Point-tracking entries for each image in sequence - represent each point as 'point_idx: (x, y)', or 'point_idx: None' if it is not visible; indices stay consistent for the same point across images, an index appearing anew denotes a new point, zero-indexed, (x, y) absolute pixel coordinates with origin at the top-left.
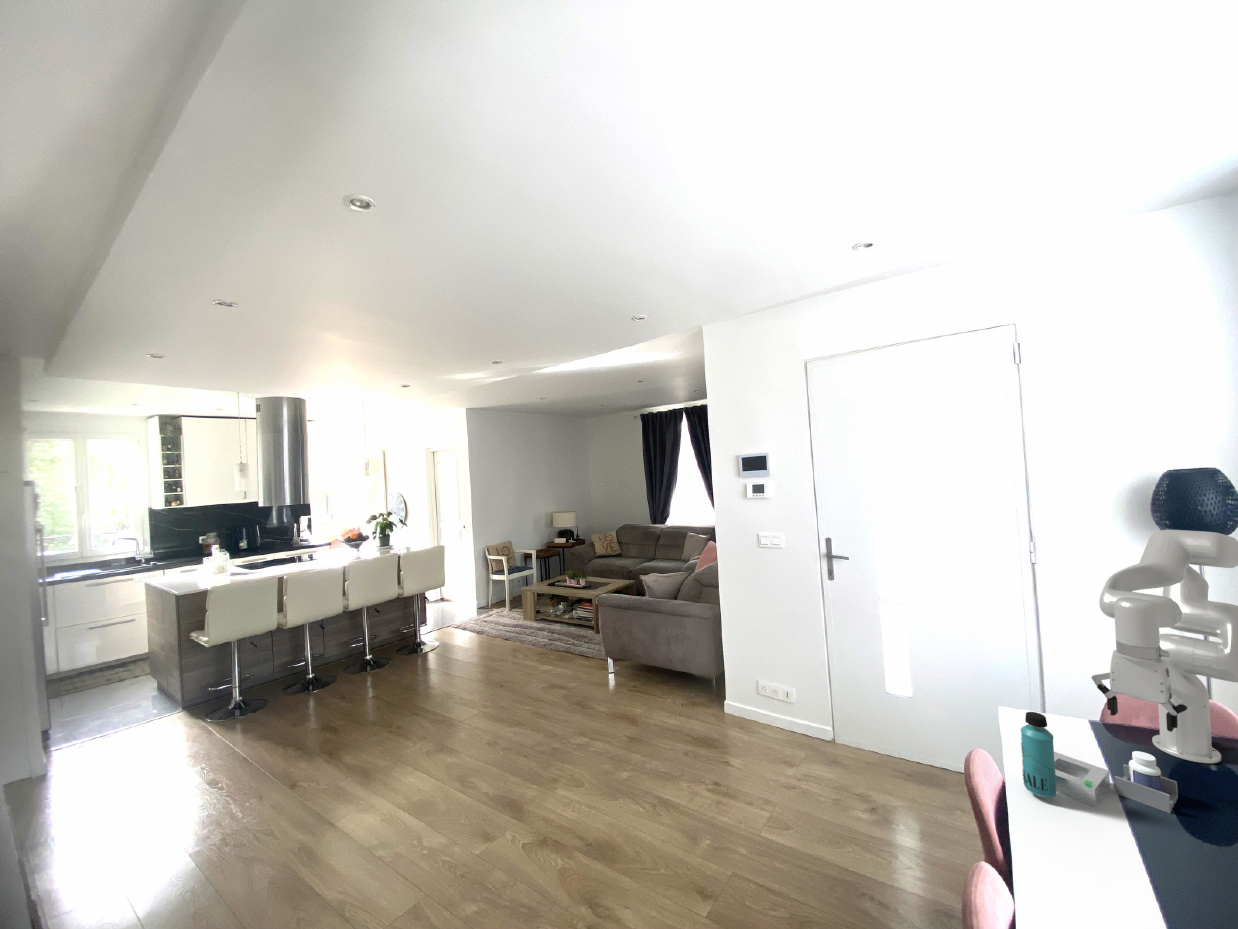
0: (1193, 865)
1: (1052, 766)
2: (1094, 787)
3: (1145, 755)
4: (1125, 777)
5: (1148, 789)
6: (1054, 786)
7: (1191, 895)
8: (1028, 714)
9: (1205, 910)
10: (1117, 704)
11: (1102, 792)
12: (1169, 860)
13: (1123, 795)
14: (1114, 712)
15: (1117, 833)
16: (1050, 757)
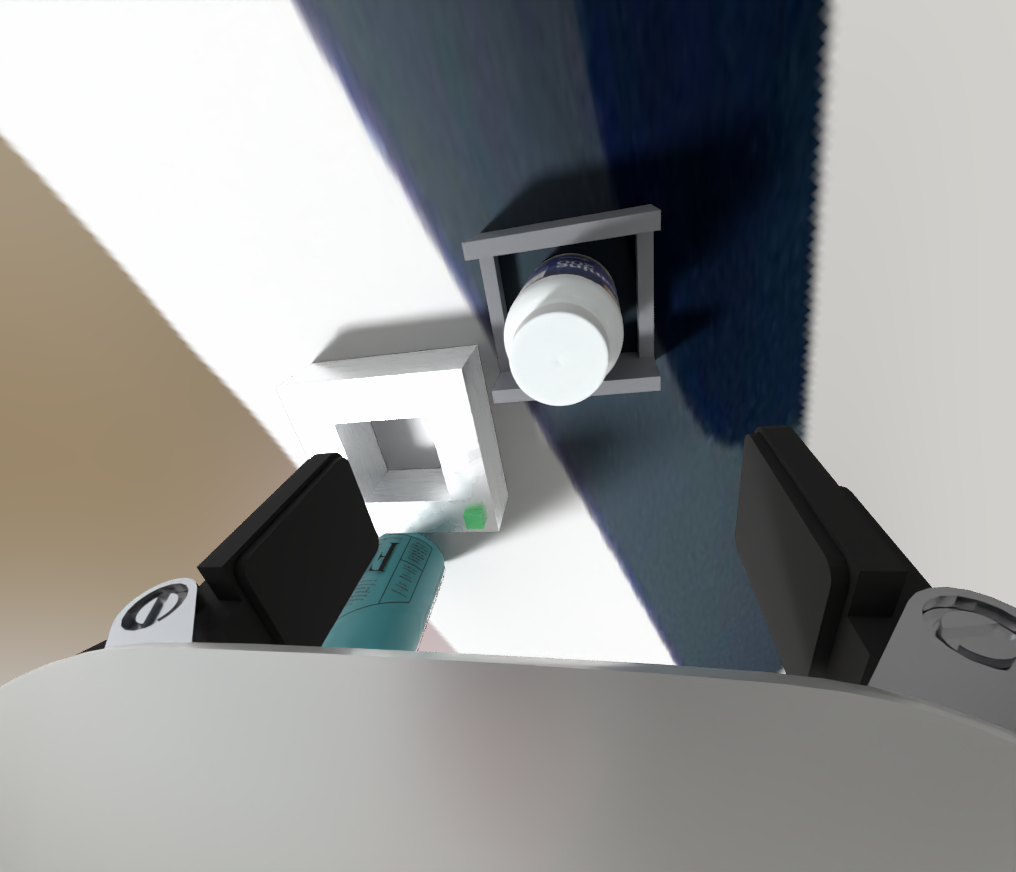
0: (732, 565)
1: (415, 644)
2: (492, 520)
3: (562, 352)
4: (485, 258)
5: (596, 394)
6: (436, 584)
7: (735, 650)
8: None
9: (758, 669)
10: (299, 506)
11: (491, 438)
12: (689, 581)
13: None
14: (367, 566)
15: (584, 563)
16: None
